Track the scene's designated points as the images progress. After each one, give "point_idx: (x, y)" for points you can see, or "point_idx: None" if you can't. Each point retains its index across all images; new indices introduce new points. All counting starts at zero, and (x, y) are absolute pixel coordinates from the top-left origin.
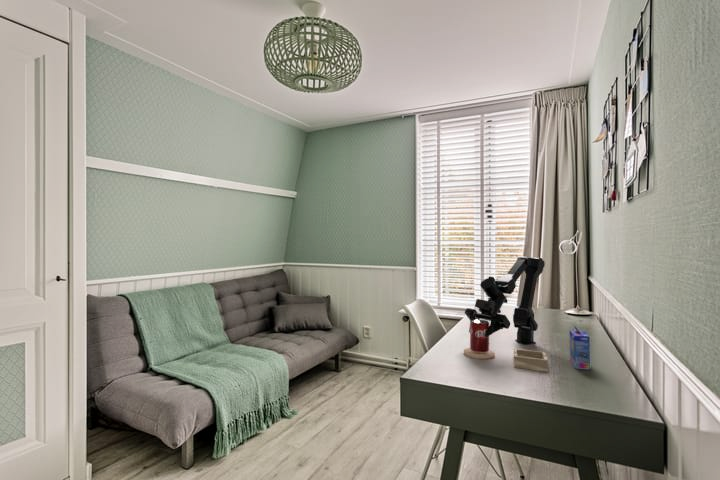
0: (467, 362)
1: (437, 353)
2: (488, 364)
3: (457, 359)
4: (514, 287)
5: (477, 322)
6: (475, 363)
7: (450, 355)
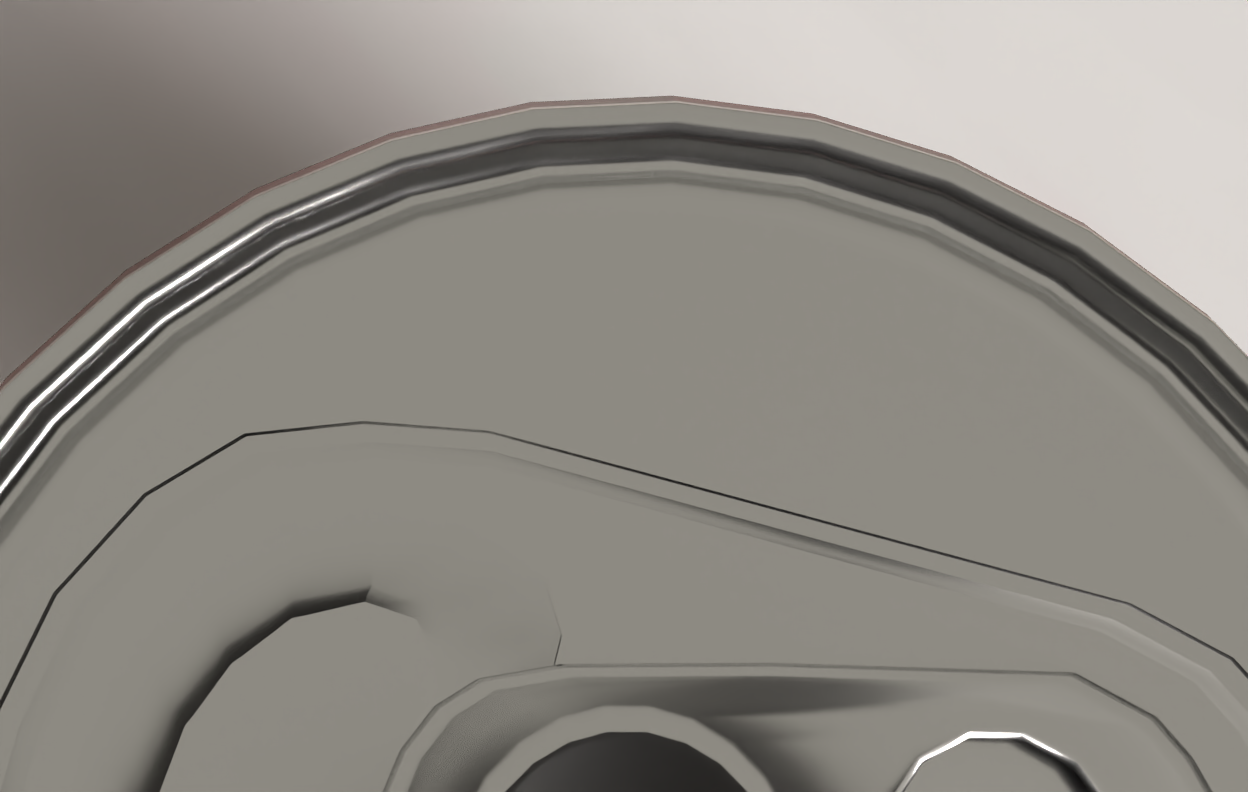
0: (393, 73)
1: (1151, 13)
2: (39, 322)
3: (638, 53)
4: None
5: (479, 307)
6: (254, 153)
7: (914, 131)
